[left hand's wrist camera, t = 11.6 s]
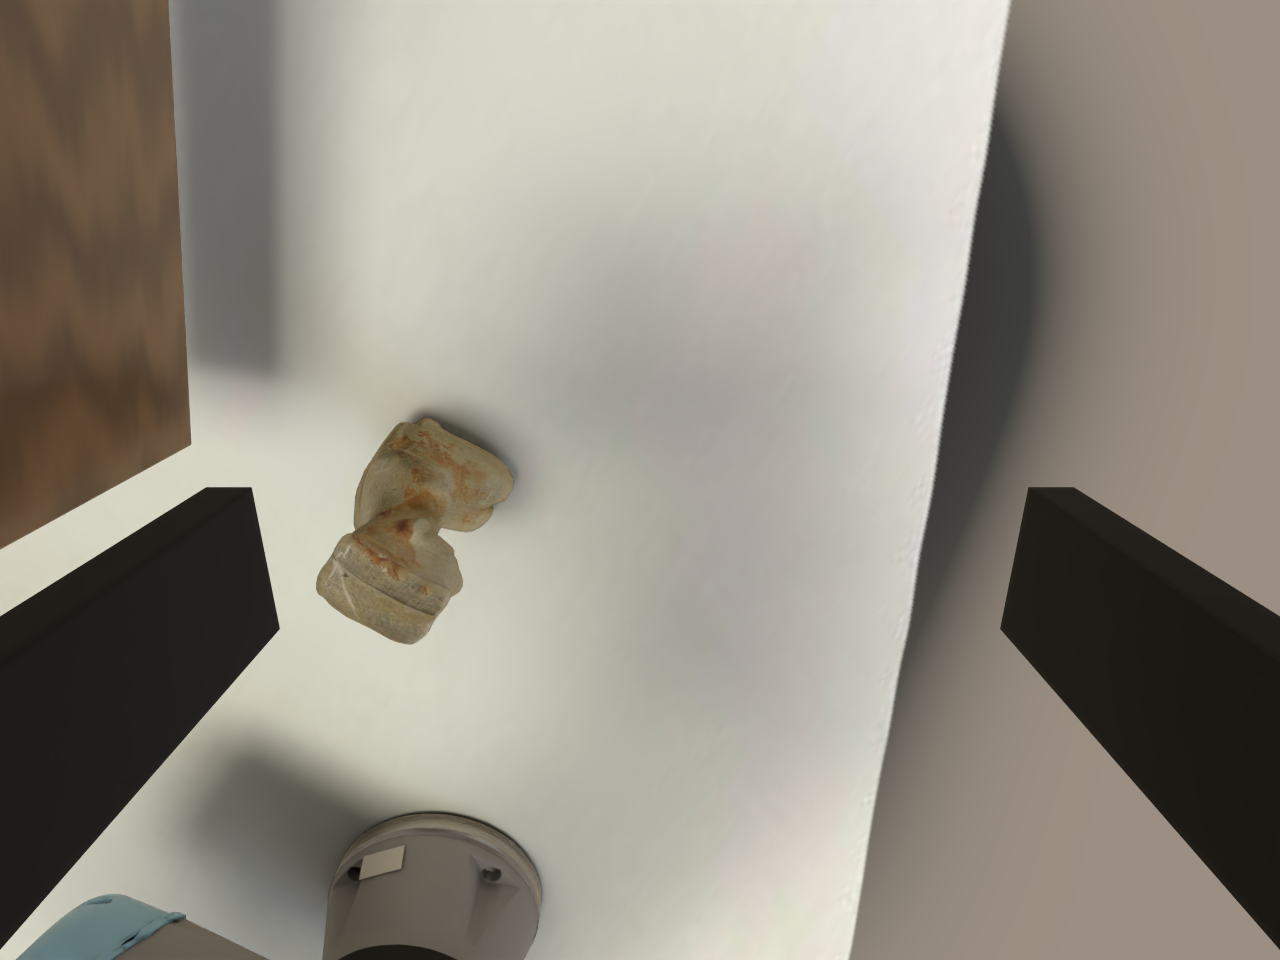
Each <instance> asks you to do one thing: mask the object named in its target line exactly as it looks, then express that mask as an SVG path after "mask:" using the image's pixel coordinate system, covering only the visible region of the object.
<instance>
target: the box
mask: <svg viewBox="0 0 1280 960" xmlns="http://www.w3.org/2000/svg"><path fill="white" fill-rule="evenodd" d="M190 445H191V428H190V409H189V390H188V371H187V352H186V332H185V313H184V294H183V275H182V255H181V236H180V217H179V198H178V179H177V159H176V140H175V121H174V102H173V83H172V63H171V44H170V25H169V6H168V0H0V549H2V548H4V547H6V546H7V545H9V544H11V543H13V542H15V541H16V540H18V539H20V538H22V537H24V536H26V535H27V534H29V533H31V532H33V531H35V530H37V529H38V528H40V527H42V526H44V525H46V524H47V523H49V522H51V521H53V520H55V519H57V518H58V517H60V516H62V515H64V514H66V513H67V512H69V511H71V510H73V509H75V508H77V507H78V506H80V505H82V504H84V503H86V502H88V501H89V500H91V499H93V498H95V497H97V496H98V495H100V494H102V493H104V492H106V491H108V490H109V489H111V488H113V487H115V486H117V485H119V484H120V483H122V482H124V481H126V480H128V479H129V478H131V477H133V476H135V475H137V474H139V473H140V472H142V471H144V470H146V469H148V468H149V467H151V466H153V465H155V464H157V463H159V462H160V461H162V460H164V459H166V458H168V457H170V456H171V455H173V454H175V453H177V452H179V451H180V450H182V449H184V448H186V447H188V446H190Z"/></svg>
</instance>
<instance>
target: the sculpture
mask: <svg viewBox="0 0 1280 960" xmlns="http://www.w3.org/2000/svg"><path fill="white" fill-rule="evenodd" d="M512 488H513V477H512V474H511V472H510V471H509V469H508V468H507V466H506V465H505V464H504V463H503V462H502V461H501V460H500V459H498V458H497V457H496V456H494V455H493V454H491V453H489V452H487V451H486V450H484V449H482V448H480V447H478V446H476V445H474V444H472V443H470V442H468V441H466V440H464V439H461V438H459V437H457V436H455V435H453V434H451V433H449V432H447V431H445V430H444V429H442V426H441V425H440V424H439V423H438V422H436V421H434V420H431V419H428V418H424V419H422V420H420V421H419V422H417V423H416V424H412V423H407V422H403V423H399V424H398V425H397V426H396V427H395V428H394V429H393V430H392V432H391V433H390V434H389V435H388V436H387V438H386V439H385V440H384V442H383V443H382V445H381V446H380V448H379V449H378V451H377V452H376V454H375V455H374V457H373V458H372V460H371V462H370V463H369V465H368V466H367V468H366V469H365V471H364V473H363V476H362V478H361V481H360V483H359V486H358V488H357V492H356V496H355V509H354V527H355V531H354V532H353V533H349V534H346V535H345V536H343V537H342V538H341V539H340V541H339V542H338V544H337V546H336V547H335V549H334V552H333V553H332V555H331V557H330V558H329V560H328V561H327V563H326V564H325V565H324V566H323V568H322V569H321V571H320V573H319V575H318V577H317V582H316V590H317V592H318V594H319V595H320V596H322V597H323V598H324V599H326V601H327V602H328V603H329V604H330V605H331V606H332V607H333V608H335V609H336V610H338V611H339V612H341V613H342V614H343V615H345V616H346V617H348V618H350V619H352V620H354V621H356V622H358V623H360V624H362V625H364V626H366V627H369V628H371V629H372V630H374V631H376V632H378V633H380V634H381V635H383V636H385V637H387V638H389V639H390V640H393V641H396V642H399V643H403V644H414V643H416V642H417V641H419V640H420V639H422V638H423V637H424V636H425V635H426V634H427V633H428V632H429V630H430V628H431V626H432V624H433V622H434V621H435V619H436V617H437V616H438V615H439V614H440V613H441V612H442V610H443V609H444V608H445V607H446V605H447V603H448V602H449V600H450V598H451V597H452V596H453V595H455V594H457V593H458V592H459V591H460V590H461V588H462V586H463V579H462V575H461V573H460V570H459V566H458V562H457V559H456V558H455V556H454V550H453V548H452V547H451V546H450V545H449V544H448V543H447V542H446V541H444V540H443V539H442V538H441V537H440V536H438V535H437V534H438V532H439V531H440V529H441V528H445V529H449V530H454V531H460V532H470V531H474V530H476V529H478V528H480V527H481V526H482V525H484V524H485V523H486V522H487V521H488V520H489V519H490V517H491V515H492V512H493V510H494V508H493V504H495V503H499V502H503V501H504V500H505V499H506V498H507V497H508V495H509V494H510V493H511V491H512Z"/></svg>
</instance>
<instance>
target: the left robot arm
mask: <svg viewBox="0 0 1280 960" xmlns="http://www.w3.org/2000/svg"><path fill="white" fill-rule="evenodd" d="M279 629H280V628H279V623H278V618H277V613H276V608H275V603H274V597H273V592H272V587H271V582H270V577H269V572H268V567H267V562H266V557H265V552H264V547H263V542H262V537H261V532H260V527H259V522H258V517H257V512H256V507H255V502H254V497H253V492H252V487H206V488H204V489H203V490H201V491H200V492H198V493H196V494H195V495H193V496H192V497H190V498H188V499H187V500H185V501H184V502H182V503H180V504H179V505H177V506H176V507H174V508H172V509H171V510H169V511H168V512H166V513H165V514H163V515H161V516H160V517H158V518H157V519H155V520H153V521H152V522H150V523H149V524H147V525H145V526H144V527H142V528H141V529H139V530H137V531H136V532H134V533H133V534H131V535H129V536H128V537H126V538H125V539H123V540H121V541H120V542H118V543H117V544H115V545H113V546H112V547H110V548H109V549H107V550H105V551H104V552H102V553H101V554H99V555H97V556H96V557H94V558H93V559H91V560H90V561H88V562H86V563H85V564H83V565H82V566H80V567H78V568H77V569H75V570H74V571H72V572H70V573H69V574H67V575H66V576H64V577H62V578H61V579H59V580H58V581H56V582H54V583H53V584H51V585H50V586H48V587H46V588H45V589H43V590H42V591H40V592H38V593H37V594H35V595H34V596H32V597H30V598H29V599H27V600H26V601H24V602H22V603H21V604H19V605H18V606H16V607H14V608H13V609H11V610H10V611H8V612H7V613H5V614H3V615H2V616H0V949H1V948H2V947H3V946H4V945H5V944H6V942H7V941H8V940H9V939H10V938H11V937H12V936H13V934H14V933H15V932H16V931H17V930H18V929H19V927H20V926H21V925H22V924H23V923H24V922H25V921H26V919H27V918H28V917H29V916H30V915H31V914H32V913H33V911H34V910H35V909H36V908H37V907H38V906H39V905H40V903H41V902H42V901H43V900H44V899H45V898H46V897H47V895H48V894H49V893H50V892H51V891H52V890H53V888H54V887H55V886H56V885H57V884H58V883H59V882H60V880H61V879H62V878H63V877H64V876H65V875H66V874H67V872H68V871H69V870H70V869H71V868H72V867H73V866H74V864H75V863H76V862H77V861H78V860H79V859H80V858H81V856H82V855H83V854H84V853H85V852H86V851H87V849H88V848H89V847H90V846H91V845H92V844H93V843H94V841H95V840H96V839H97V838H98V837H99V836H100V835H101V833H102V832H103V831H104V830H105V829H106V828H107V827H108V825H109V824H110V823H111V822H112V821H113V820H114V819H115V817H116V816H117V815H118V814H119V813H120V812H121V810H122V809H123V808H124V807H125V806H126V805H127V804H128V802H129V801H130V800H131V799H132V798H133V797H134V796H135V794H136V793H137V792H138V791H139V790H140V789H141V788H142V786H143V785H144V784H145V783H146V782H147V781H148V779H149V778H150V777H151V776H152V775H153V774H154V773H155V771H156V770H157V769H158V768H159V767H160V766H161V765H162V763H163V762H164V761H165V760H166V759H167V758H168V757H169V755H170V754H171V753H172V752H173V751H174V750H175V749H176V747H177V746H178V745H179V744H180V743H181V742H182V740H183V739H184V738H185V737H186V736H187V735H188V734H189V732H190V731H191V730H192V729H193V728H194V727H195V726H196V724H197V723H198V722H199V721H200V720H201V719H202V718H203V716H204V715H205V714H206V713H207V712H208V711H209V710H210V708H211V707H212V706H213V705H214V704H215V703H216V701H217V700H218V699H219V698H220V697H221V696H222V695H223V693H224V692H225V691H226V690H227V689H228V688H229V687H230V685H231V684H232V683H233V682H234V681H235V680H236V679H237V677H238V676H239V675H240V674H241V673H242V672H243V670H244V669H245V668H246V667H247V666H248V665H249V664H250V662H251V661H252V660H253V659H254V658H255V657H256V656H257V654H258V653H259V652H260V651H261V650H262V649H263V648H264V646H265V645H266V644H267V643H268V642H269V641H270V640H271V638H272V637H273V636H274V635H275V634H276V633H277V631H278V630H279ZM1000 629H1001V630H1002V631H1003V633H1004V634H1005V635H1006V636H1007V637H1008V638H1009V639H1010V641H1011V642H1012V643H1013V644H1014V645H1015V646H1016V648H1017V649H1018V650H1019V651H1020V652H1021V653H1022V654H1023V656H1024V657H1025V658H1026V659H1027V660H1028V661H1029V662H1030V664H1031V665H1032V666H1033V667H1034V668H1035V669H1036V671H1037V672H1038V673H1039V674H1040V675H1041V676H1042V677H1043V679H1044V680H1045V681H1046V682H1047V683H1048V684H1049V685H1050V687H1051V688H1052V689H1053V690H1054V691H1055V692H1056V693H1057V695H1058V696H1059V697H1060V698H1061V699H1062V700H1063V701H1064V703H1065V704H1066V705H1067V706H1068V707H1069V708H1070V710H1071V711H1072V712H1073V713H1074V714H1075V715H1076V716H1077V718H1078V719H1079V720H1080V721H1081V722H1082V723H1083V724H1084V725H1085V727H1086V728H1087V729H1088V730H1089V731H1090V732H1091V734H1092V735H1093V736H1094V737H1095V738H1096V739H1097V740H1098V742H1099V743H1100V744H1101V745H1102V746H1103V747H1104V749H1105V750H1106V751H1107V752H1108V753H1109V754H1110V755H1111V757H1112V758H1113V759H1114V760H1115V761H1116V762H1117V763H1118V765H1119V766H1120V767H1121V768H1122V769H1123V770H1124V771H1125V773H1126V774H1127V775H1128V776H1129V777H1130V778H1131V779H1132V781H1133V782H1134V783H1135V784H1136V785H1137V786H1138V788H1139V789H1140V790H1141V791H1142V792H1143V793H1144V794H1145V796H1146V797H1147V798H1148V799H1149V800H1150V801H1151V802H1152V804H1153V805H1154V806H1155V807H1156V808H1157V809H1158V810H1159V812H1160V813H1161V814H1162V815H1163V816H1164V817H1165V818H1166V820H1167V821H1168V822H1169V823H1170V824H1171V825H1172V827H1173V828H1174V829H1175V830H1176V831H1177V832H1178V833H1179V835H1180V836H1181V837H1182V838H1183V839H1184V840H1185V841H1186V843H1187V844H1188V845H1189V846H1190V847H1191V848H1192V849H1193V851H1194V852H1195V853H1196V854H1197V855H1198V856H1199V858H1200V859H1201V860H1202V861H1203V862H1204V863H1205V864H1206V866H1207V867H1208V868H1209V869H1210V870H1211V871H1212V872H1213V874H1214V875H1215V876H1216V877H1217V878H1218V879H1219V880H1220V882H1221V883H1222V884H1223V885H1224V886H1225V887H1226V888H1227V890H1228V891H1229V892H1230V893H1231V894H1232V895H1233V897H1234V898H1235V899H1236V900H1237V901H1238V902H1239V903H1240V905H1241V906H1242V907H1243V908H1244V909H1245V910H1246V911H1247V913H1248V914H1249V915H1250V916H1251V917H1252V918H1253V919H1254V921H1255V922H1256V923H1257V924H1258V925H1259V926H1260V927H1261V929H1262V930H1263V931H1264V932H1265V933H1266V934H1267V936H1268V937H1269V938H1270V939H1271V940H1272V941H1273V942H1274V943H1275V945H1276V946H1277V947H1278V948H1279V949H1280V616H1278V615H1277V614H1275V613H1273V612H1272V611H1270V610H1269V609H1267V608H1265V607H1264V606H1262V605H1261V604H1259V603H1257V602H1256V601H1254V600H1253V599H1251V598H1250V597H1248V596H1246V595H1245V594H1243V593H1242V592H1240V591H1238V590H1237V589H1235V588H1234V587H1232V586H1230V585H1229V584H1227V583H1226V582H1224V581H1222V580H1221V579H1219V578H1218V577H1216V576H1214V575H1213V574H1211V573H1210V572H1208V571H1206V570H1205V569H1203V568H1202V567H1200V566H1198V565H1197V564H1195V563H1194V562H1192V561H1190V560H1189V559H1187V558H1186V557H1184V556H1183V555H1181V554H1179V553H1178V552H1176V551H1175V550H1173V549H1171V548H1170V547H1168V546H1167V545H1165V544H1163V543H1162V542H1160V541H1159V540H1157V539H1155V538H1154V537H1152V536H1151V535H1149V534H1147V533H1146V532H1144V531H1143V530H1141V529H1139V528H1138V527H1136V526H1135V525H1133V524H1131V523H1130V522H1128V521H1127V520H1125V519H1123V518H1122V517H1120V516H1119V515H1117V514H1115V513H1114V512H1112V511H1111V510H1109V509H1107V508H1106V507H1104V506H1103V505H1101V504H1099V503H1098V502H1096V501H1095V500H1093V499H1092V498H1090V497H1088V496H1087V495H1085V494H1084V493H1082V492H1080V491H1079V490H1077V489H1076V488H1074V487H1029V488H1028V492H1027V497H1026V502H1025V507H1024V512H1023V517H1022V522H1021V527H1020V532H1019V537H1018V543H1017V547H1016V552H1015V557H1014V563H1013V567H1012V573H1011V577H1010V582H1009V587H1008V592H1007V598H1006V602H1005V608H1004V613H1003V618H1002V623H1001V628H1000ZM541 901H542V891H541V884H540V881H539V877H538V875H537V872H536V870H535V868H534V866H533V864H532V863H531V861H530V860H529V858H528V857H527V856H526V854H525V853H524V852H523V851H522V850H521V849H520V848H519V847H518V846H517V845H516V844H515V843H514V842H512V841H511V840H510V839H509V838H507V837H506V836H504V835H503V834H501V833H500V832H498V831H496V830H494V829H492V828H491V827H488V826H486V825H484V824H482V823H479V822H476V821H473V820H470V819H466V818H463V817H458V816H453V815H445V814H414V815H407V816H402V817H398V818H395V819H391V820H388V821H386V822H383V823H381V824H379V825H377V826H375V827H373V828H371V829H369V830H368V831H366V832H365V833H364V834H362V835H361V836H360V837H359V838H358V839H357V840H356V841H355V842H354V843H353V844H352V845H351V846H350V847H349V849H348V850H347V852H346V853H345V855H344V857H343V859H342V861H341V863H340V865H339V867H338V870H337V872H336V874H335V876H334V878H333V881H332V883H331V886H330V889H329V894H328V906H327V917H326V927H325V938H324V949H323V960H524V958H525V956H526V954H527V952H528V950H529V948H530V946H531V945H532V943H533V941H534V938H535V936H536V933H537V929H538V922H539V915H540V908H541ZM16 960H269V959H266V958H264V957H262V956H260V955H258V954H256V953H254V952H252V951H250V950H248V949H246V948H244V947H242V946H240V945H238V944H236V943H234V942H232V941H229V940H227V939H225V938H223V937H221V936H219V935H217V934H215V933H213V932H211V931H209V930H207V929H205V928H203V927H201V926H199V925H197V924H195V923H192V922H190V921H188V920H186V915H184V914H182V913H179V912H172V913H167V912H165V911H162V910H160V909H157V908H155V907H152V906H150V905H148V904H145V903H143V902H140V901H138V900H135V899H133V898H130V897H128V896H124V895H119V894H108V895H103V896H99V897H96V898H93V899H91V900H88V901H86V902H84V903H83V904H81V905H79V906H78V907H76V908H75V909H73V910H72V911H71V912H69V913H68V914H66V915H65V916H64V917H62V918H61V919H60V920H59V921H58V922H56V923H55V924H54V925H53V926H52V927H51V928H49V929H48V930H47V931H46V932H45V933H44V934H43V935H42V936H41V937H39V938H38V939H37V940H36V941H35V942H34V943H33V944H32V945H31V946H30V947H29V948H28V949H27V950H26V951H24V952H23V953H22V954H21V955H20V956H19V957H18V958H17V959H16Z"/></svg>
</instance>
